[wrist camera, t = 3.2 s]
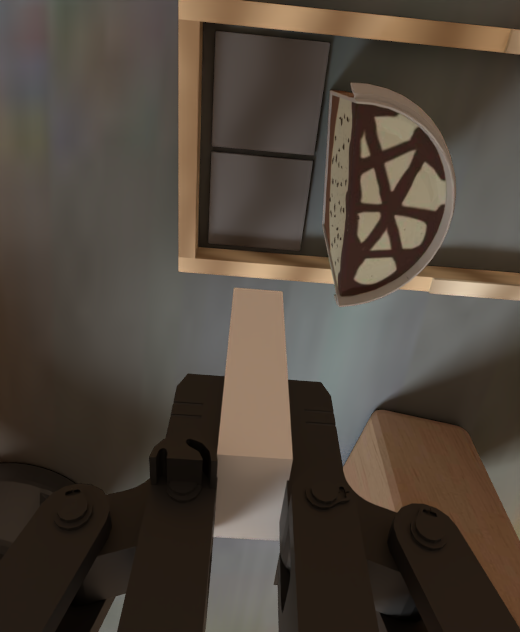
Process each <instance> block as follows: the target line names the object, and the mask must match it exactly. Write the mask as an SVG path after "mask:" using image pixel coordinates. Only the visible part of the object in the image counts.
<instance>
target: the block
mask: <svg viewBox="0 0 520 632" xmlns="http://www.w3.org/2000/svg"><path fill="white" fill-rule="evenodd" d="M343 472H344V475H345V478H346V481H347V482H348V484H349V485H350V486H351V488H352V489H353V490H354V491H355V492H356V493H357V494H358V495H359V496H360V497H362V498H363V499H365V500H366V501H368V502H371V503H373V504H375V505H378V506H380V507H383V508H386V509H389V510H392V511H394V512H398V511H399V510H400V509H401V507H404V506H406V505H409V504H411V503H417V504H426V505H429V506H432V507H435V508H437V509H439V510H440V511H442V512H443V513H444V514H446V515H447V516H449V517H450V519H451V520H452V521H453V522H454V523H455V525H456V526H457V527H458V529H459V530H460V532H461V533H462V535H463V537H464V538H465V540H466V542H467V543H468V545H469V546H470V548H471V550H472V551H473V553H474V555H475V556H476V558H477V559H478V561H479V563H480V564H481V566H482V568H483V569H484V571H485V572H486V574H487V576H488V577H489V579H490V581H491V582H492V584H493V585H494V587H495V589H496V590H497V592H498V594H499V595H500V597H501V598H502V600H503V602H504V603H505V605H506V607H507V608H508V610H509V612H510V613H511V615H512V616H513V618H514V620H515V621H516V623H517V625H518V626H519V628H520V541H519V539H518V537H517V535H516V532H515V530H514V528H513V526H512V524H511V522H510V520H509V518H508V516H507V514H506V511H505V509H504V507H503V505H502V503H501V501H500V499H499V497H498V495H497V493H496V490H495V488H494V486H493V484H492V482H491V480H490V478H489V476H488V474H487V471H486V469H485V467H484V465H483V463H482V461H481V459H480V457H479V455H478V453H477V450H476V448H475V446H474V444H473V442H472V440H471V438H470V436H469V434H468V432H467V431H466V430H465V429H463V428H461V427H460V426H456V425H452V424H447V423H442V422H438V421H433V420H428V419H424V418H419V417H414V416H410V415H405V414H400V413H396V412H391V411H386V410H376V411H375V412H374V413H372V415H371V417H370V419H369V421H368V422H367V424H366V426H365V428H364V430H363V432H362V433H361V435H360V437H359V439H358V441H357V443H356V444H355V446H354V448H353V450H352V452H351V453H350V455H349V457H348V459H347V461H346V463H345V464H344V466H343Z"/></svg>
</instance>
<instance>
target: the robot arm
mask: <svg viewBox="0 0 520 632" xmlns="http://www.w3.org/2000/svg"><path fill="white" fill-rule="evenodd" d="M149 463H150V479H148V480H147V481H146V482H145V483H143V484H141V485H139V486H138V487H135V488H132V489H129V490H126V491H122V492H117V493H113V494H108V495H105V493H104V492H103V491H102V490H101V489H99V488H97V487H95V486H93V485H89V484H75V483H73V482H72V481H70V480H69V479H67V478H65V477H63V476H61V475H59V474H57V473H55V472H52V471H50V470H47V469H44V468H40V467H36V466H32V465H26V464H17V463H0V632H98V631H99V629H100V627H101V625H102V623H103V621H104V619H105V617H106V615H107V613H108V611H109V609H110V607H111V605H112V603H113V601H114V599H115V597H116V596H118V595H122V594H125V593H126V595H125V600H124V604H123V608H122V613H121V617H120V622H119V626H118V630H117V632H205V629H206V618H207V607H208V595H209V584H210V573H211V562H212V547H213V537H225V538H242V539H259V540H276V541H278V537H279V532H280V554H279V560H278V565H277V570H276V575H275V581H274V585H278V618H279V632H520V628H519V626H518V625H517V623H516V621H515V620H514V618H513V616H512V615H511V613H510V612H509V610H508V608H507V607H506V605H505V603H504V602H503V600H502V598H501V597H500V595H499V594H498V592H497V590H496V589H495V587H494V585H493V584H492V582H491V581H490V579H489V577H488V576H487V574H486V572H485V571H484V569H483V568H482V566H481V564H480V563H479V561H478V559H477V558H476V556H475V555H474V553H473V551H472V550H471V548H470V546H469V545H468V543H467V542H466V540H465V538H464V537H463V535H462V533H461V532H460V530H459V529H458V527H457V526H456V525H455V523H454V522H453V521H452V520H451V519H450V517H449V516H447V515H446V514H444V513H443V512H442V511H440V510H439V509H437V508H435V507H432V506H429V505H426V504H417V503H411V504H409V505H406V506H404V507H401V509H400V510H399V511H398V512H394V511H392V510H389V509H386V508H383V507H380V506H378V505H375V504H373V503H371V502H368V501H366V500H365V499H363V498H362V497H360V496H359V495H358V494H357V493H356V492H355V491H354V490H353V489H352V488H351V486H350V485H349V484H348V482H347V481H346V478H345V475H344V472H343V466H342V460H341V454H340V448H339V442H338V436H337V430H336V427H335V418H334V414H333V406H332V400H331V396H330V394H329V393H328V391H327V390H326V389H325V387H324V386H323V384H322V383H321V382H311V381H297V380H288V373H287V357H286V341H285V325H284V309H283V293H282V291H269V290H257V289H245V288H234V292H233V302H232V312H231V321H230V331H229V341H228V351H227V361H226V371H225V376H212V375H198V374H187V375H186V377H185V378H184V379H183V380H182V381H181V382H180V384H179V385H178V386H177V389H176V394H175V398H174V404H173V407H172V412H171V417H170V421H169V425H168V430H167V434H166V439H163V440H162V441H161V442H160V443H158V444H157V445H156V446H155V447H154V449H153V451H152V452H151V454H150V456H149Z"/></svg>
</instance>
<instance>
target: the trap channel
mask: <svg viewBox="0 0 520 632" xmlns="http://www.w3.org/2000/svg"><path fill="white" fill-rule="evenodd" d="M203 22H211V23H221V24H231V25H240V26H250V27H260V28H270V29H279V30H289V31H299V32H308V33H318V34H328V35H338V36H347V37H357V38H367V39H376V40H386V41H396V42H406V43H415V44H425V45H435V46H444V47H454V48H464V49H474V50H483V51H493V52H503V53H510V54H520V30H518V29H509V28H499V27H490V26H480V25H471V24H461V23H452V22H442V21H433V20H423V19H414V18H405V17H395V16H386V15H376V14H367V13H357V12H348V11H338V10H329V9H319V8H310V7H300V6H291V5H281V4H272V3H262V2H253V1H243V0H179V272H190V273H202V274H215V275H228V276H240V277H253V278H266V279H278V280H291V281H304V282H316V283H329V284H334V281H333V276H332V271H331V266H330V262H329V257H316V256H304V255H292V254H280V253H267V252H255V251H243V250H231V249H218V248H206V247H198V221H199V178H200V134H201V90H202V47H203ZM329 48H330V42H321V41H311V40H301V39H291V38H282V37H272V36H262V35H252V34H242V33H233V32H223V31H216V36H215V64H214V93H213V121H212V146H216V147H227V148H238V149H249V150H260V151H271V152H282V153H292V154H303V155H314V151H315V144H316V137H317V130H318V124H319V117H320V110H321V103H322V96H323V89H324V82H325V76H326V69H327V62H328V55H329ZM312 165H313V160H306V159H295V158H284V157H273V156H262V155H251V154H240V153H229V152H218V151H212V152H211V178H210V207H209V235H208V243H210V244H222V245H234V246H247V247H259V248H271V249H283V250H295V251H300V247H301V240H302V234H303V227H304V220H305V213H306V206H307V199H308V192H309V185H310V179H311V172H312ZM399 289H405V290H417V291H429V293H431V294H444V295H457V296H470V297H482V298H495V299H508V300H520V273H513V272H500V271H488V270H476V269H464V268H451V267H439V266H426V267H425V268H424V269H423V270H422V271H421V272H420V273H419V274H418V275H417V276H415V277H414V278H413V279H412V280H411V281H410V282H408V283H407V284H405V285H404V286H402V287H401V288H399Z"/></svg>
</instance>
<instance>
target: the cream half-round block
mask: <svg viewBox="0 0 520 632" xmlns="http://www.w3.org/2000/svg"><path fill="white" fill-rule="evenodd" d="M350 86H351V89H352V92H353V93H350V92H346V91H339V90H330V98H329V115H328V133H327V150H326V168H325V185H324V203H323V220H322V227H323V232H324V237H325V242H326V247H327V252H328V257H329V262H330V266H331V271H332V276H333V281H334V286H335V291H336V295H334V298H335V300H336V303H337V305H339V307H343V306H354V305H359V304H363V303H368V302H371V301H374V300H377V299H380V298H382V297H384V296H386V295H388V294H390V293H392V292H394V291H396V290H398V289H399V288H401V287H402V286H404V285H405V284H407V283H408V282H410V281H411V280H412V279H413V278H414V277H415V276H417V275H418V274H419V273H420V272H421V271H422V270H423V269H424V268H425V267H426V266H427V264H428V263H429V262H430V261H431V260H432V259H433V257H434V255H435V254H436V252H437V251H438V249H439V248H440V246H441V244H442V242H443V240H444V238H445V236H446V234H447V231H448V229H449V226H450V222H451V219H452V215H453V212H454V206H455V198H456V180H455V173H454V168H453V164H452V160H451V156H450V153H449V150H448V148H447V145H446V143H445V141H444V138H443V136H442V134H441V132H440V131H439V129H438V128H437V126H436V125H435V123H434V122H433V120H432V119H431V118H430V117H429V116H428V115H427V114H426V113H425V112H424V111H423V110H422V109H421V108H420V107H419V106H418V105H416V104H415V103H413V102H412V101H410V100H409V99H408V98H406V97H405V96H403V95H401V94H398V93H396V92H394V91H392V90H389V89H387V88H383V87H379V86H375V85H371V84H363V83H351V85H350Z"/></svg>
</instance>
